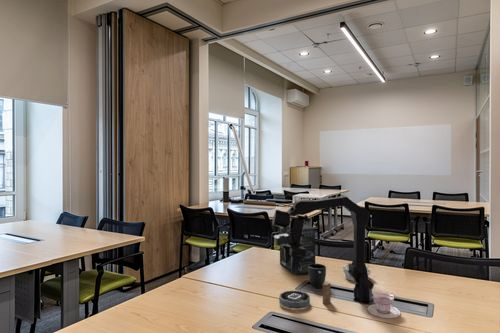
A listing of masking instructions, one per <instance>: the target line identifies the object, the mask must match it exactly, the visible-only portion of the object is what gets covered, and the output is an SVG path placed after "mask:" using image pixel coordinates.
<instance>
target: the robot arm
mask: <svg viewBox="0 0 500 333" xmlns="http://www.w3.org/2000/svg"><path fill="white" fill-rule="evenodd" d="M337 207H343V208H344V209H345V210H347V211H348V212H350V217H351V218H350V219H351V222H352V225H353V257H352V262H351V263H347V264H348V265H349V271H348V273H349V274H350V276H351V278H352V279H353V280H354V281H353V282H354V283H355V284H354V287H353V297H354V298H353V301H354V302H358V303H363V304H366V305H369V304H370V303H372V301H373V300H375V299H374V298H373V288H374V286H375V284H374V282H372V280H370V278H369V275H368V272H367V268H366V266H367V265H366V262H365V258H366V257H365V255H366V254H365V253H366V249H365V248H366V227H367V225H368V223H369V218H370V211H369V210H368V209H367V208H366V207H364V206H360V205H359V204H357V203H356V202H354V201H352V200H351V199H349V197H348V196H345V195H340V196H336V197H330V198H329V197H327V198H321V199H315V200H314V199H313V200H311V199H309V200H308V199H297V200H295V201H294V202H293V204H292V206H291V207H290V208H288V210H287V211H285V210H284V211H283V210H280V209H278V208H277V209H275V211H274V215H273V216H272V227H273V226H275V227H284V228H286V226H289V224H290V228H289V230H288V231H287V233H286V234H275V235H273V238H274V239H273V240H274V244H275V245H276V246H279V247H280V245H282V247H283V248H284V253H285V263H288V261H289V260H290V258H291V257H292V258H291V270H294V269H295V268H296V266H297V265H298V264H299V262H300V261H301V260H302V259H303V258H304V257H306V255H307V251H306V249H305V248H303V247H302V244H301V239H302V237H304V234H303V228H304V224H305V223H306V222H310V221H311V219H310V218H309V217H308V214H310V213H313V212H314V211H317V210H324V209H331V208H337ZM290 222H291V223H290ZM300 246H301V247H300Z"/></svg>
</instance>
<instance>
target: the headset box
mask: <svg viewBox="0 0 500 333" xmlns="http://www.w3.org/2000/svg"><path fill="white" fill-rule="evenodd" d="M290 223H291V221H290ZM289 228H290V224H289V226H286V228H284V227H279V232H278V233H279V234H278V235H280V234H286V233H287V231H288V230H289ZM303 234H304V237H302V239H301V244H302V247H303V248H305V249H306V251H307V255H306V257H304V258H303V259H302V260H301V261H300V262H299V264H298V265H297V266H296V268H295V269H294V270H291V258H292V257H291V258H290V260H289V261H288V263H285V253H284V248H283V247H282V245H279V264H280V265H281V266H282V267H283V266H284V267H283V268H284V269H286V270H288V271H290V273H292V274H294V275H295V276H299V275H300V276H301V275H309V274H308V265H310V264H317V263H316V228H315V227H314V226H310V225H308V224H305V223H304V228H303ZM300 247H301V246H300Z"/></svg>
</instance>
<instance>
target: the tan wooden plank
mask: <svg viewBox="0 0 500 333" xmlns="http://www.w3.org/2000/svg"><path fill="white" fill-rule="evenodd" d="M330 303H331V282H328V281H325V282H324V284H323V287H322V304H325V305H328V304H330Z"/></svg>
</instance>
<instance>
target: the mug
mask: <svg viewBox="0 0 500 333" xmlns="http://www.w3.org/2000/svg"><path fill="white" fill-rule="evenodd" d="M307 275H308V279H309V282H310V286H311V288H314V289H323V284H324V283H325V282H326V276H327V266H326V265H325V264H322V263H316V264H310V265H308V274H307Z"/></svg>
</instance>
